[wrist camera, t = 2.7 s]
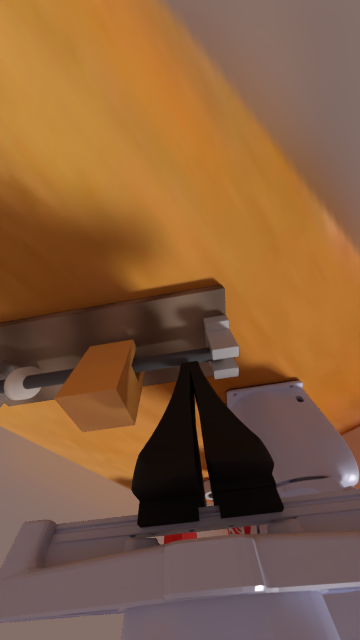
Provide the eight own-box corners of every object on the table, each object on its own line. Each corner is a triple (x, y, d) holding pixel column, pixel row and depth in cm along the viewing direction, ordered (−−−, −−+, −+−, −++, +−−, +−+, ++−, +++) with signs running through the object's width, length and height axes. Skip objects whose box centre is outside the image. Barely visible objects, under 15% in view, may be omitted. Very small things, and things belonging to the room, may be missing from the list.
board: (221, 284, 14) (224, 288, 14) (224, 366, 19) (227, 373, 18) (-53, 331, 16) (-67, 338, 15) (15, 398, 20) (8, 406, 20)
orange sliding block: (133, 339, 15) (115, 388, 10) (145, 371, 17) (135, 424, 12) (90, 346, 15) (54, 398, 10) (106, 377, 17) (82, 432, 12)
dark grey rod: (216, 330, 15) (225, 350, 12) (218, 353, 16) (226, 376, 14) (-3, 365, 16) (-35, 390, 13) (16, 385, 17) (-10, 411, 15)
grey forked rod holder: (225, 314, 15) (239, 336, 12) (226, 356, 17) (238, 383, 14) (203, 318, 15) (211, 340, 12) (207, 359, 17) (215, 386, 14)
